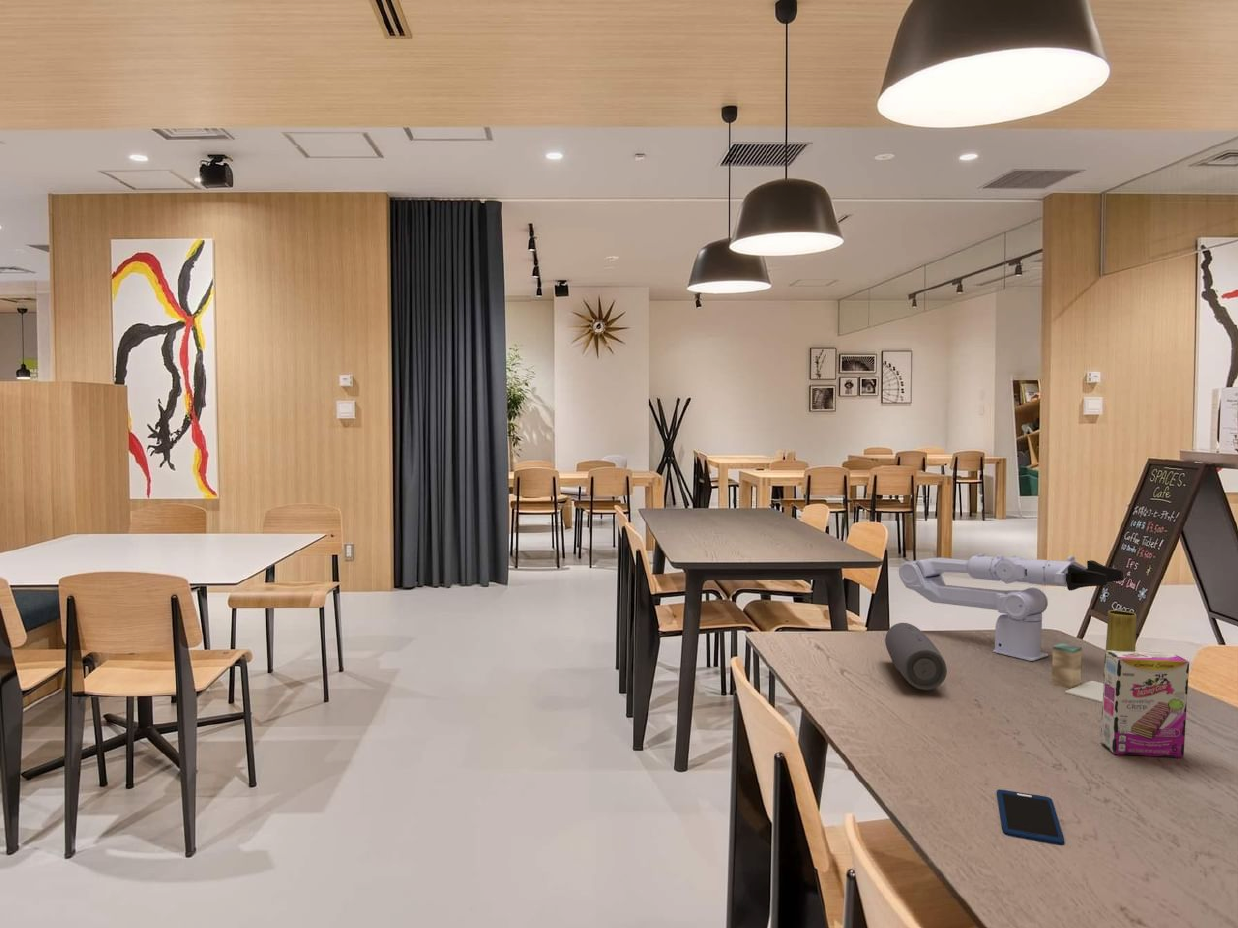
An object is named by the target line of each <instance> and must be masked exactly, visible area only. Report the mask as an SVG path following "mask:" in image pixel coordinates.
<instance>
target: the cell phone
mask: <svg viewBox="0 0 1238 928" xmlns="http://www.w3.org/2000/svg"><path fill="white" fill-rule="evenodd" d="M996 798H997V804H998V810H999V811H998V812H999V816H1000V817H999V818H1000V824H1001V829H1002V833H1003V834H1004V835H1006V836H1008V837H1014V838H1018V839H1024V840H1030V841H1036V842H1041V843H1047V844H1052V845H1059V846H1063V845H1065V837H1064V834H1063V830H1062V827H1061V824H1060V821H1059V818H1058V813H1057V810H1056V808H1055V804H1054V802H1053V799H1052V798H1051V797H1049V796H1046V795H1045V796H1044V795H1038V794H1033V793H1026V792H1020V791H1019V792H1018V791H1015V790H1014V791H1012V790H1006V789H996Z"/></svg>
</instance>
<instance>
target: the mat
mask: <svg viewBox="0 0 1238 928" xmlns="http://www.w3.org/2000/svg"><path fill="white" fill-rule="evenodd" d="M1103 686H1104V682H1099V681H1097V680H1096V681H1095V680H1090V681H1087V682H1085V683H1082V684H1080V685H1079V686H1077V687H1075V688H1072V689H1071V688H1069V689H1067V690H1065V691H1064V693H1065V694H1068V695H1071V696H1076V697H1079V698H1084V699H1087V700H1090V701H1093V702H1099V703H1102V704H1103Z"/></svg>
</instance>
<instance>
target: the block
mask: <svg viewBox="0 0 1238 928" xmlns="http://www.w3.org/2000/svg"><path fill="white" fill-rule="evenodd" d="M1082 649H1083V648H1082V647H1080V646H1077V645H1071V644H1067V643H1064V642H1063V643H1059V644H1055V645H1053V646H1052V659H1051V660H1052V665H1051V684H1052V685H1055V686H1056V685H1057V686H1060V687H1062V688H1068V689H1072V688H1075V687H1077V686H1080V685H1082V684H1081V683H1082V682H1081V680H1082V679H1081V677H1082V654H1083V653H1082Z"/></svg>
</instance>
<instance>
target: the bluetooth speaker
mask: <svg viewBox="0 0 1238 928" xmlns="http://www.w3.org/2000/svg"><path fill="white" fill-rule="evenodd" d="M884 642H885V647H886V650H887V653H888V655H889V657H890V659H891V660H890V661H891V662H892V663H893V665H894V666H895V668H896V669H897V671H898V672H899V674H900V675H901V676H902V677H903V678H904V679H905V680H906V681H907V683H908V684H910V685H911V686H913V687H914V688H916V689H918V690H921V691H922V690H924V691H929V690H934V689H937V688H938V687H940V686H941V685H942V684H943V683H944V682H945V680H946V677H947V674H948V672H947V671H948V670H947V665H946V661H945V659H944V657H943V655H942V654H941V652H940V651H939V649H938V648H937V647H936V645H935V644H934V643H933V642H932V640H931V639H930V638H929V637H928V636H927V635H926V634H925V633H924V632H923V630H921V629H919V628H918V627H917V626H915V625H913V624H911V623H908V622H899V623H896V624H893V625H892V626H890V627H889V629H888V630H887V632H886V633H885V638H884Z"/></svg>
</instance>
